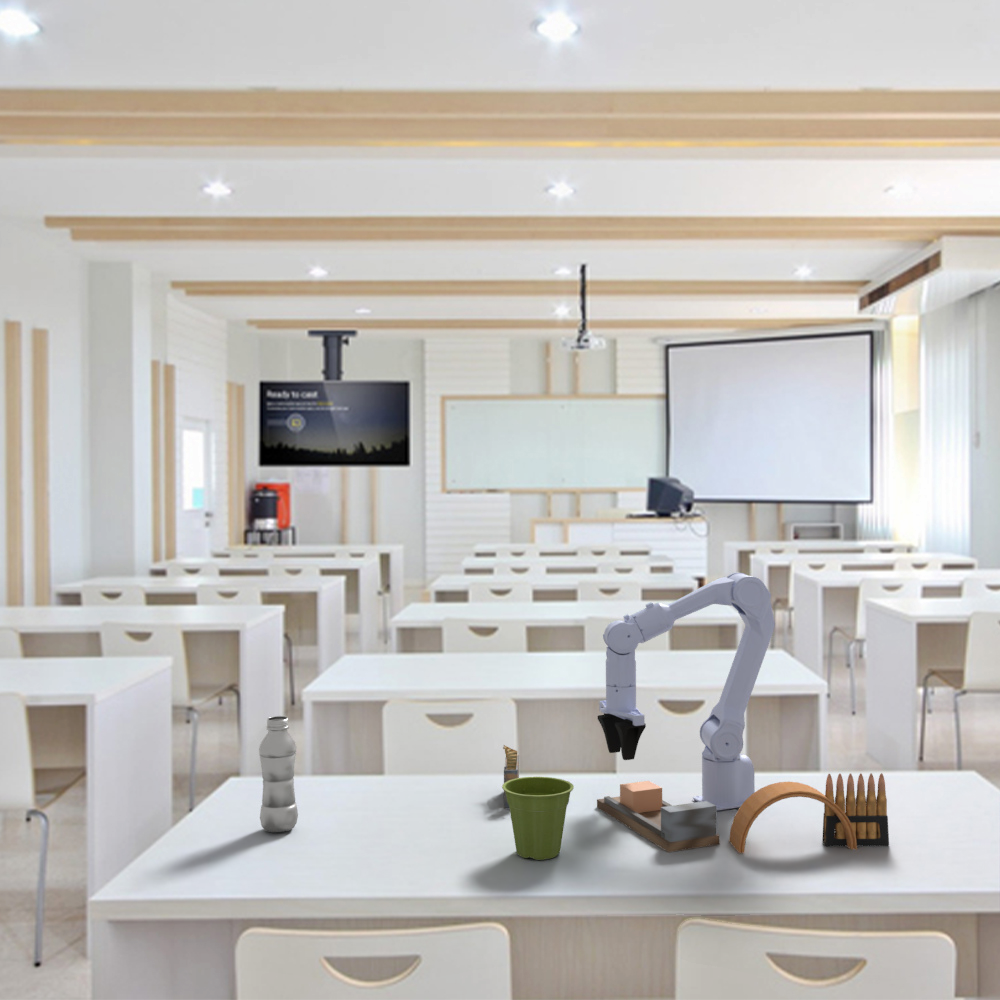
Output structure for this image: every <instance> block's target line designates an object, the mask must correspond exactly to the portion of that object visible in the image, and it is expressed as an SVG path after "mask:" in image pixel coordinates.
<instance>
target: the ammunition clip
mask: <svg viewBox="0 0 1000 1000" xmlns="http://www.w3.org/2000/svg"><path fill="white" fill-rule="evenodd" d="M864 780H865V779H864V776H863V774H862V773H861V772H860V773H859V775H858V779H857V785H856V791H855V781H854V777H853V774H852V773H849V775H848V776H847V782H846V795H845V790H844V789H845V786H844V785H845V784H844V780H843V776H842V774H841V773H839V774H838V775H837V779H836V784H835V785H836V786H835V787H836V789H835V796H834V783H833V778H832V776H831V773H828V774H827V776H826V780H825V782H826V783H825V794H824V795H825V796H826V797H827V798H828V799H830V800H831V801H833V802H834V803H835V804H836V805H837V806H838V807H839V808H840V809H841V810H842V811H843V812H844V813H845V814H846V816H847V817H848V819H849V820H850V822H851V825H852V827H853V829H854V832H855V836H856V841H857V847H889V845H890V836H889V835H890V834H889V816H888V811H887V810H888V807H887V806H888V804H887V803H888V798H887V795H886V794H887V793H886V792H887V791H886V782H885V777H884V775H883V773H882V772H881V773H880V775H879V776H878V783H877V792H876V784H875V778H874V775H873V773H870V774H869V775H868V779H867V787H866V786H865V781H864ZM866 788H867V791H866V790H865V789H866ZM855 792H856V793H855ZM876 793H877V795H876ZM855 794H856V795H855ZM823 804H824V803H823ZM823 807H824V812H823V822H822V841H821V842H822V844H823V845H824V846H825V847H847V840H846V839H845V833H844V828H843V826H842V824H841V821H840V819H839V818H838V816H836V815H835V813H834V812H833V810H832V809H831V808H830V807H828V806H827V805H826V804H824V806H823Z"/></svg>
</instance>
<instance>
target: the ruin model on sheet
mask: <svg viewBox="0 0 1000 1000" xmlns="http://www.w3.org/2000/svg"><path fill="white" fill-rule="evenodd" d="M502 749H503V750H504V754H505V763H504V767H503V784H504V783H505V782H507V781H509V780H512V779H516V778H520V755H519V754H518V750H516V749H513V748H510V747H509V746H507V745H505V744H503V747H502ZM503 809H510V808H509V804H508V802H507V797H506V792H505V791H504V790H503Z"/></svg>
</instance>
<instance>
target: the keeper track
mask: <svg viewBox="0 0 1000 1000" xmlns="http://www.w3.org/2000/svg"><path fill="white" fill-rule="evenodd" d="M596 807H597V809H599V810H600V809H601V811H602V812H603V813H605V814H607V815H608V816H610V817H612V818H613V819H615V820H616V821H618V822H620V823H621V824H623V825H624V826H626V827H628V828H629V829H631V830H632V831H634V832H635V833H637V834H639V835H640V836H642V837H643V838H645V839H647V840H649V841H650V842H651V843H654V844H655V845H656V846H658V847H659V848H661V849H662V850H664V851H665V852H667V853H672V852H673V853H674V852H678V851H684V850H692V849H697V848H703V847H709V846H716V845H721V844H720V842H721V838H720V834H718V833H717V811H716V805H714V804H712V803H710V802H708V801H702V802H697V801H695V802H690V803H689V802H687V803H682V804H675V805H673V804H670V803H669V802H666V801H665V800H663V799H662V807H661V810H657V811H650V812H643V813H636V812H635V811H633V810H631V809H630V808H628V807H626V806H625V805H623V804H621V803H620V795H619V796H614V797H613V796H610V795H608V796H604V797H603V798H598V799H596Z"/></svg>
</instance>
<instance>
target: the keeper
mask: <svg viewBox="0 0 1000 1000" xmlns="http://www.w3.org/2000/svg"><path fill="white" fill-rule="evenodd" d="M619 796H620V803H621V804H623V805H625V806H626V807H628V808H630V809H631V810H633V811H635V812H636V813H643V812H650V811H657V810H661V807H662V800H663V787H661V786H660V785H657V784H656V783H655V782H652V781H650V780H644V781H637V782H630V783H629V782H627V783H621V784H619Z"/></svg>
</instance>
